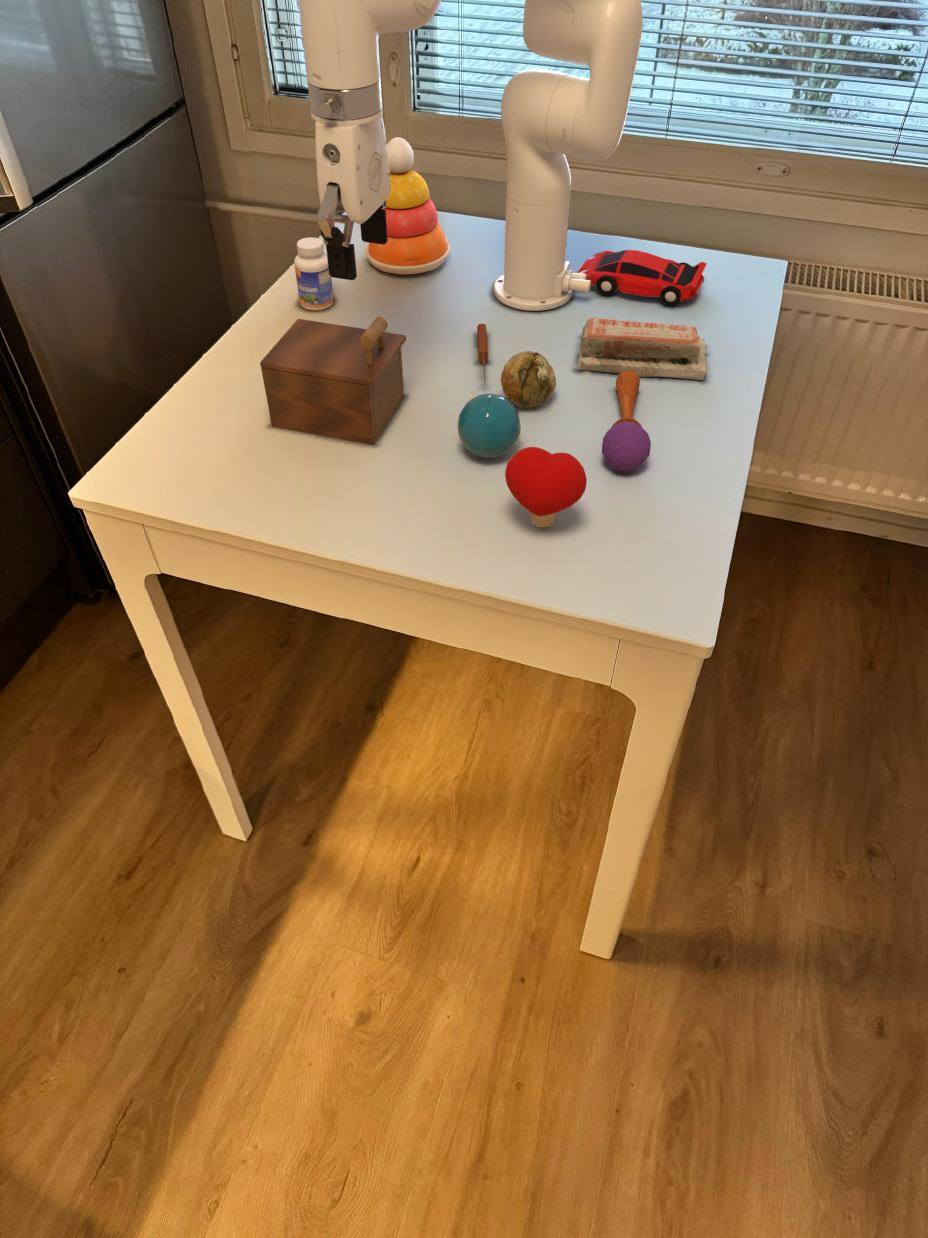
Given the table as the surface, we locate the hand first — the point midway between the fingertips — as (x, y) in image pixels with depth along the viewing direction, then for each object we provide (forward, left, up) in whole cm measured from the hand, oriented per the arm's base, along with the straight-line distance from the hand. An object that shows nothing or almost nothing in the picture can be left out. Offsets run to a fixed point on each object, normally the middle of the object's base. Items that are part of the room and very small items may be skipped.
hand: (359, 259), depth 107 cm
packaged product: (-32, -25, -22) cm, 46 cm away
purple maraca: (-33, -6, -22) cm, 40 cm away
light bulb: (-27, +15, -22) cm, 38 cm away
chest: (+5, 0, -22) cm, 22 cm away
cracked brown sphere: (-19, -10, -22) cm, 31 cm away
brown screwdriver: (-10, -18, -22) cm, 30 cm away
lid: (+4, 0, -13) cm, 14 cm away
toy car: (-28, -46, -22) cm, 58 cm away
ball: (-17, +3, -22) cm, 28 cm away
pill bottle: (+20, -27, -22) cm, 40 cm away
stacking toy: (+11, -45, -22) cm, 51 cm away
